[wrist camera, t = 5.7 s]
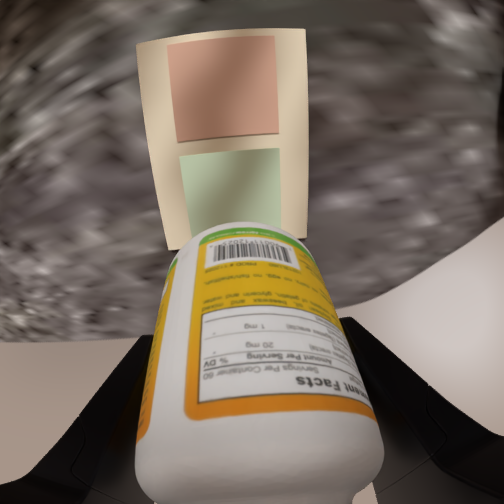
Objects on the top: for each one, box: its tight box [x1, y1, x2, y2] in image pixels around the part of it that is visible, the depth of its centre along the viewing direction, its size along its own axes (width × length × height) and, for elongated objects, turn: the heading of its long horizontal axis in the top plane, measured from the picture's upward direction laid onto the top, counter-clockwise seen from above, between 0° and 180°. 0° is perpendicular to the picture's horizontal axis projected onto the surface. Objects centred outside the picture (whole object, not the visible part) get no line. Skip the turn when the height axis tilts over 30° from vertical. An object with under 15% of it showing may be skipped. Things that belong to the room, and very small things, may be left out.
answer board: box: [136, 28, 308, 250], centre depth 16 cm, size 9×13×1 cm
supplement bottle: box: [135, 222, 384, 504], centre depth 7 cm, size 5×5×10 cm
